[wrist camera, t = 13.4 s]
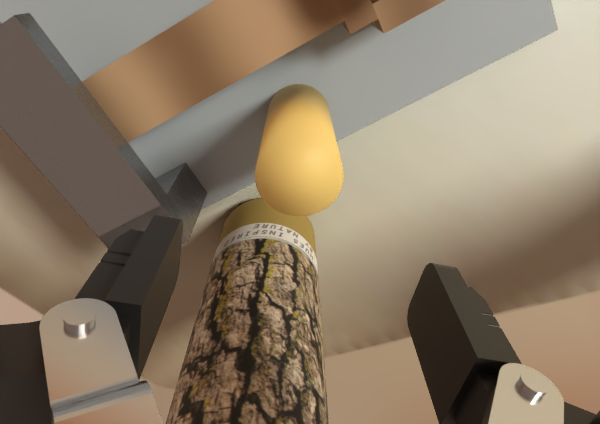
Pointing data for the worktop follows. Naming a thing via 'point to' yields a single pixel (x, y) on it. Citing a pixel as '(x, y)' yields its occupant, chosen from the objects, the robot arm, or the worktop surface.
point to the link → (225, 52)
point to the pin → (298, 153)
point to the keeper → (83, 141)
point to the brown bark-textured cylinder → (257, 327)
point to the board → (289, 71)
